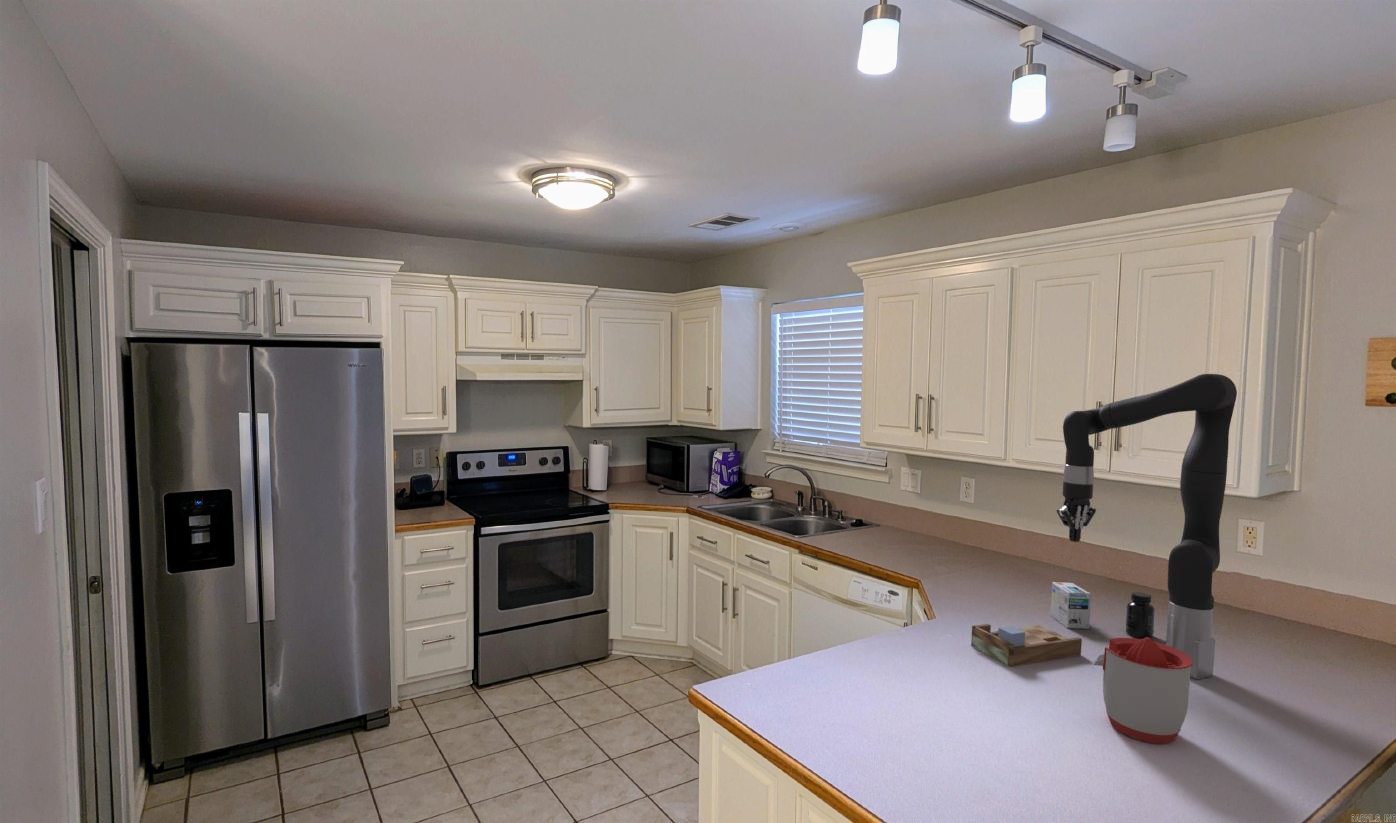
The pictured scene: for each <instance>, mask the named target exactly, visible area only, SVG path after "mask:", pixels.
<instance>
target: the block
mask: <svg viewBox="0 0 1396 823" xmlns="http://www.w3.org/2000/svg"><path fill="white" fill-rule="evenodd" d="M1018 628H1019V627H1018ZM1018 628H1017V627H1015V626H1013V625H1009V626H1007V625H1006V626H1001V627H998V629H997V630H998V637H999V638H1001V639H1003V640H1005V641H1007V642H1009V643H1011V644H1013V645H1014V647H1018V646H1024V645H1025V632H1024V631H1022V630H1020V629H1018Z"/></svg>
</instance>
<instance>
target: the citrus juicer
mask: <svg viewBox="0 0 1396 823" xmlns="http://www.w3.org/2000/svg"><path fill="white" fill-rule="evenodd" d="M1103 653H1104V654H1100V655H1099V656H1097V658H1096V660H1095V661H1093V663H1092V665H1093V666H1101V667H1102V670H1103V673H1102V674H1103V675H1102V676H1103V678H1102V693H1103V702H1104V706H1105V710H1106V714H1107V718H1108V720H1109V723H1110V725H1111V727H1113V728H1114V729H1116V731H1117V732H1118V733H1121V734H1124V735H1125V736H1128V737H1130V738H1132V739H1133V738H1134V739H1136V740H1139V741H1143V742H1147V743H1151V744H1152V743H1154V744H1157V745H1163V744H1167V743H1169V744H1170V743H1171V742H1173V741H1174V740H1175V739H1176V738H1177V736H1178V735H1179V733H1180V732H1181V728H1182V727H1183V724H1184V722H1185V720H1186V715H1187V712H1188V705H1189V695H1190V683H1191V677H1190V670H1191V666H1192V664H1193V661H1192V659H1191V658H1190V657H1189V656H1188V655H1187V654H1185V653H1183V652H1181V651H1179V650H1177V649H1175V648H1172V647H1170V646H1167V645H1166V644H1163V643H1159V642H1155V641H1154V640H1153V638H1151V639H1150V638H1148V637H1146V638H1144V639H1139V638H1135V637H1115V638H1114V637H1113V638H1110V639H1109V644H1108V647H1106V646H1105V647H1104V652H1103Z"/></svg>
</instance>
